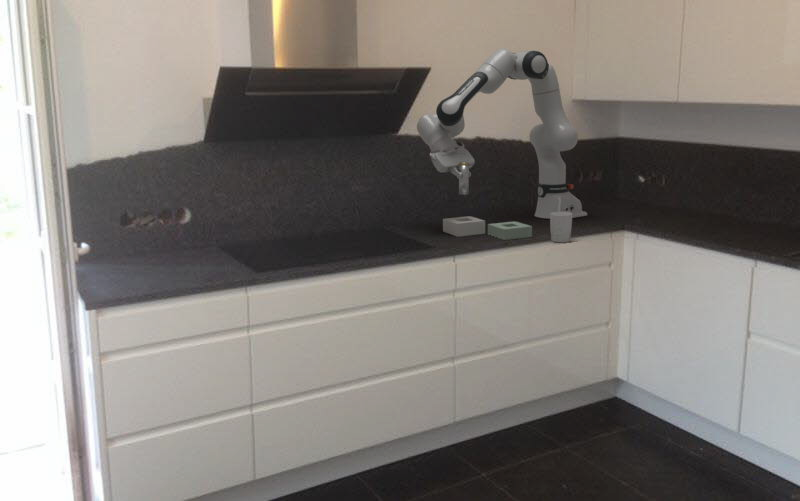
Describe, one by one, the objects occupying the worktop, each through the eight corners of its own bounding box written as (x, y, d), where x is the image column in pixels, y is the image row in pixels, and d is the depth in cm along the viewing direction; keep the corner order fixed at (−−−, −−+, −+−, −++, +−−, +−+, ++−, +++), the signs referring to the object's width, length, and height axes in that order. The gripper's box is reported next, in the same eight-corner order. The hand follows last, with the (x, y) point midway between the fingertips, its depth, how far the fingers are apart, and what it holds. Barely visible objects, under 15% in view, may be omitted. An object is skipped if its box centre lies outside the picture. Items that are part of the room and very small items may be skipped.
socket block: (514, 231, 288) (515, 221, 287) (532, 236, 277) (532, 226, 276) (487, 234, 283) (487, 224, 282) (503, 240, 272) (504, 229, 272)
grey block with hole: (470, 228, 296) (470, 216, 295) (485, 233, 285) (485, 220, 284) (443, 231, 291) (442, 218, 290) (457, 236, 281) (457, 223, 279)
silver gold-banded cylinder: (465, 193, 287) (465, 161, 284) (470, 194, 284) (470, 162, 281) (457, 193, 286) (457, 162, 283) (461, 194, 282) (461, 163, 280)
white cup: (553, 238, 274) (554, 211, 272) (574, 239, 270) (575, 212, 268) (546, 242, 268) (546, 214, 265) (567, 243, 264) (568, 216, 261)
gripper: (432, 146, 278) (452, 174, 274) (465, 142, 293) (485, 168, 288) (423, 157, 282) (443, 185, 277) (456, 153, 297) (476, 179, 292)
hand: (465, 176), depth 283 cm, fingers closed on silver gold-banded cylinder, 4 cm apart
